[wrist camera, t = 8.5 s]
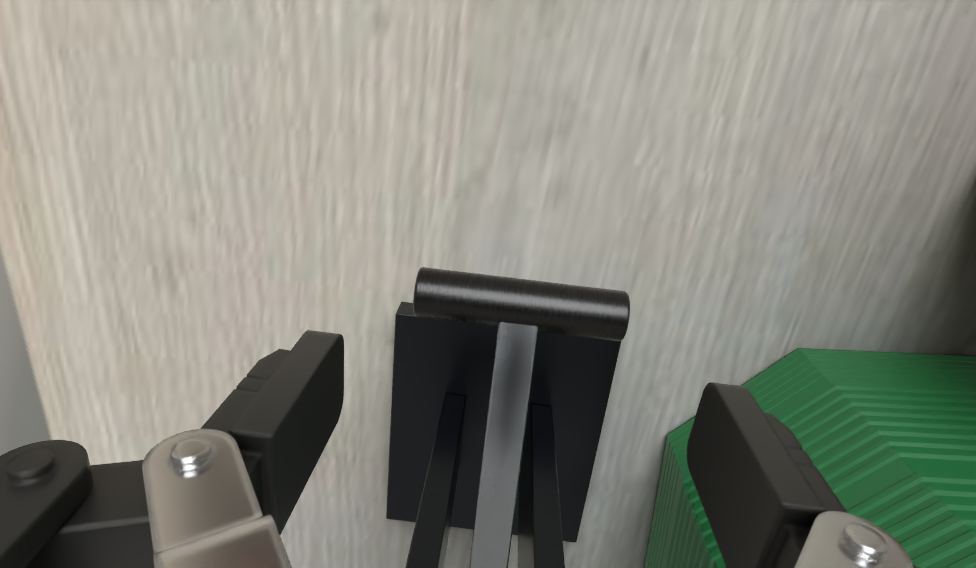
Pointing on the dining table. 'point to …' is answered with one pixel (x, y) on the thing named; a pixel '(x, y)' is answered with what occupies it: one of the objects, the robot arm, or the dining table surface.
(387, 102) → the dining table surface
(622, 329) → the lever
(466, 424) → the black upright frame
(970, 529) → the planter
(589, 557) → the dining table surface
